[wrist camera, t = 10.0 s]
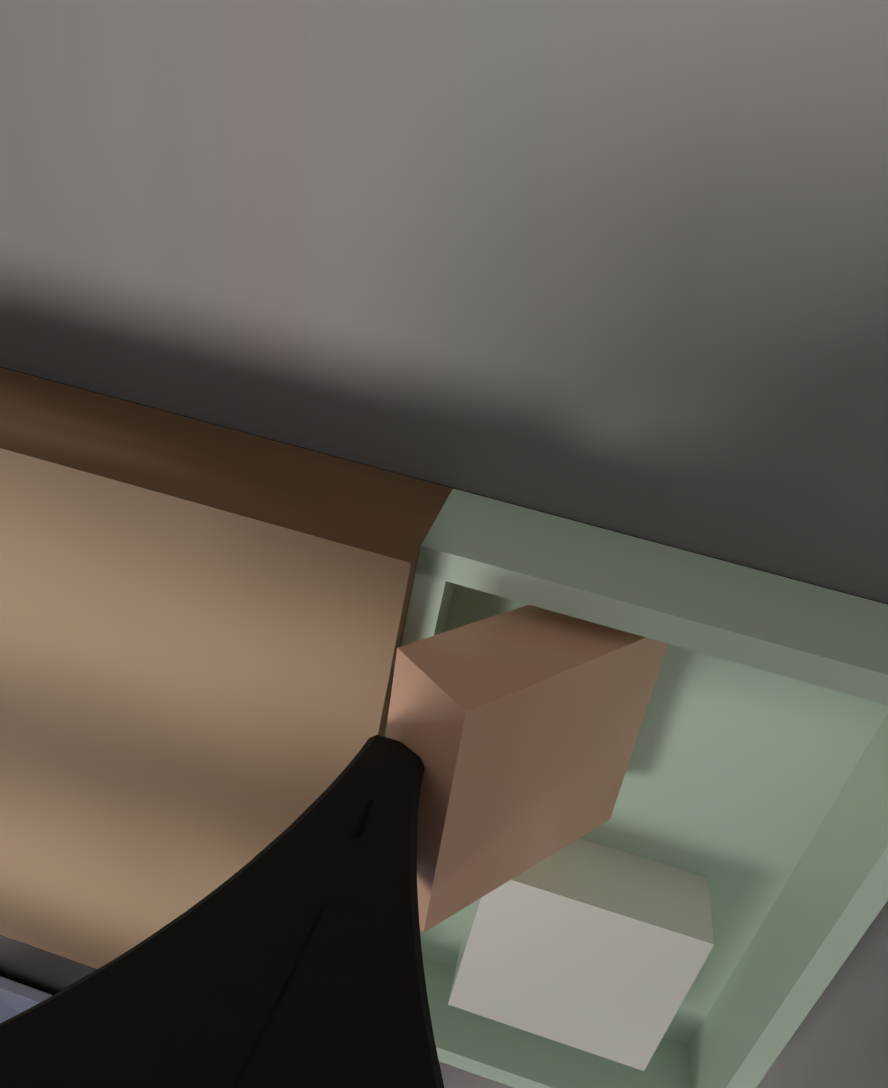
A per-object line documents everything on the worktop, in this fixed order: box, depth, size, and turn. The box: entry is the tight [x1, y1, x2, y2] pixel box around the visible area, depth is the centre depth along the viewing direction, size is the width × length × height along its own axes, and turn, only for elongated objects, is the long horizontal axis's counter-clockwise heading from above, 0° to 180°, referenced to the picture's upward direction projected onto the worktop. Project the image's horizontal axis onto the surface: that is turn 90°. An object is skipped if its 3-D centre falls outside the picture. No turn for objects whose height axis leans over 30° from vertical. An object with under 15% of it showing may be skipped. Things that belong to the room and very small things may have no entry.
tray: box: [383, 489, 888, 1088], centre depth 16 cm, size 13×9×2 cm
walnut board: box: [0, 367, 453, 969], centre depth 17 cm, size 13×11×3 cm
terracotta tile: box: [385, 605, 668, 933], centre depth 13 cm, size 4×4×2 cm
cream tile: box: [448, 838, 714, 1071], centre depth 17 cm, size 4×4×2 cm
